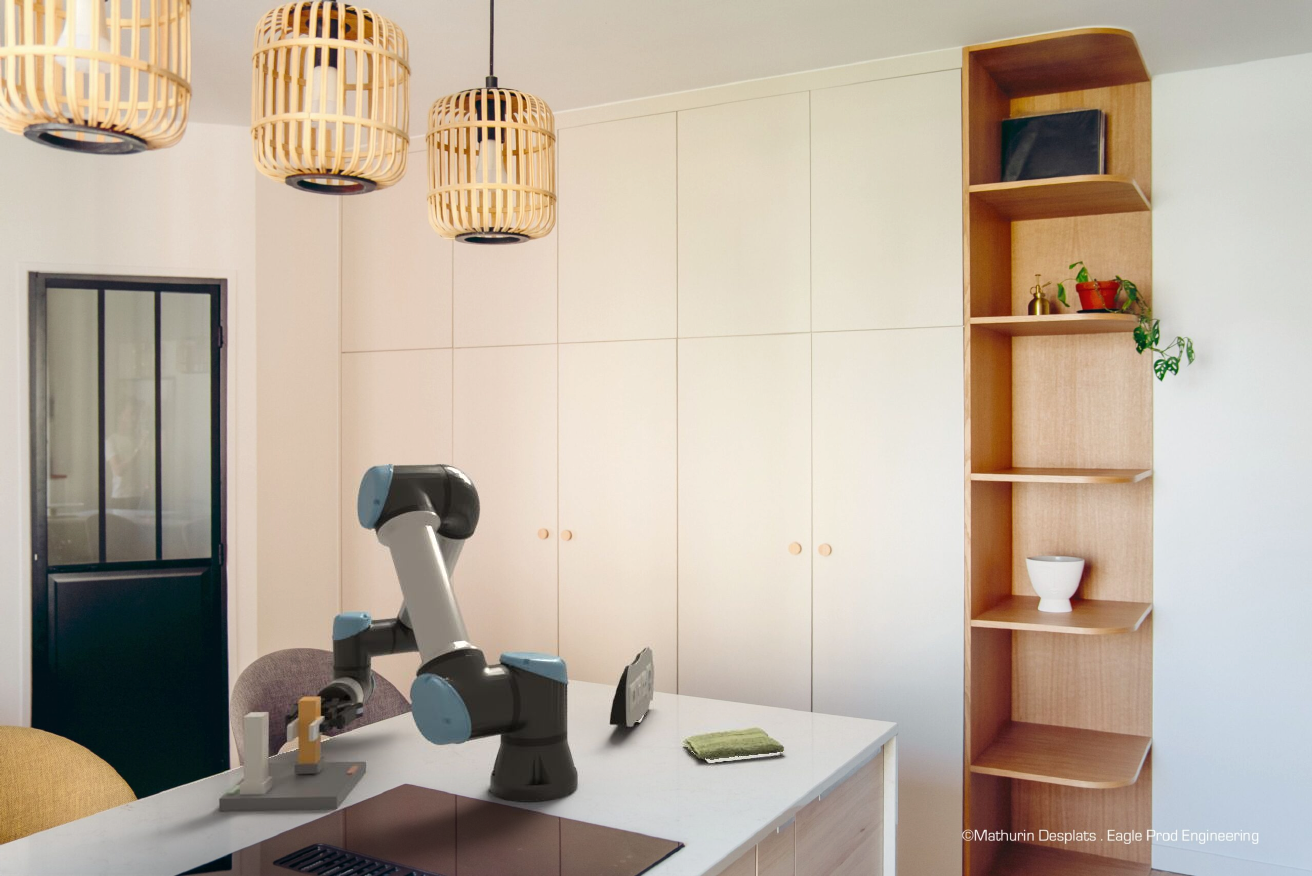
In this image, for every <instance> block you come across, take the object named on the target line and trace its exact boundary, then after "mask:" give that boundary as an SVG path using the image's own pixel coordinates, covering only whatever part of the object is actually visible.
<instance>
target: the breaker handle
mask: <svg viewBox="0 0 1312 876" xmlns="http://www.w3.org/2000/svg"><path fill="white" fill-rule="evenodd" d="M297 703H298V737H297V738H298V741H297V742H298V743H297V745H298V750H297V751H298V752H297V753H298V756H297V758H298V759H297V761H296V762H295V763H296V764H295V774H312V773H318V772H319V771H320V770H321V769H322V768H323V767H324V762H325V757H324V756H323V757H321V753H322V751H321V750H322V747H321V746H322V743H321V741H322V737H321V736H322V734H321V735H320V736H319V737H318V738H317V739H315V740H314V741H309V725H310V724H312V723H313V722H314V721H315V720H316V719H318V718H319V717H320V716H321V697H316V696H302V697H301V698H300V699H299V700H298V702H297Z"/></svg>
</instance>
